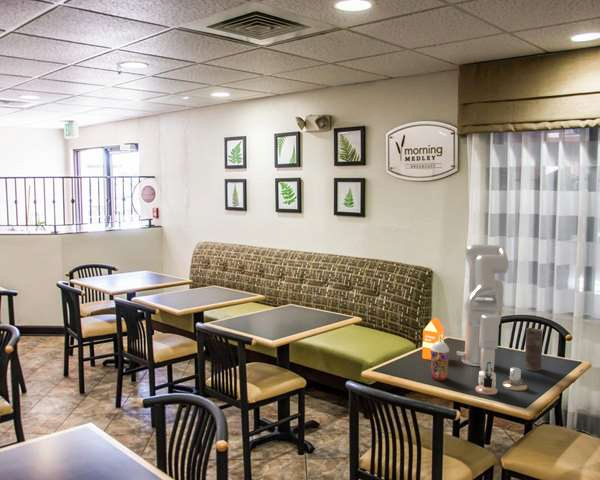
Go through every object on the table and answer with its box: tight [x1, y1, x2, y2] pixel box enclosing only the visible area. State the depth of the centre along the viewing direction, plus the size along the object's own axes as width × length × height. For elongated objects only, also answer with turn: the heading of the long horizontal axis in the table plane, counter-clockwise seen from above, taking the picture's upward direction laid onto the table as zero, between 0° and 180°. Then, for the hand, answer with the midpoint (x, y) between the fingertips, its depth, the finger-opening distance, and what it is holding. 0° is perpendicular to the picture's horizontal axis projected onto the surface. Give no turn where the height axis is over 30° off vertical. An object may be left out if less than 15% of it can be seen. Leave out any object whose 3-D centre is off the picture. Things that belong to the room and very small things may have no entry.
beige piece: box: [502, 366, 528, 392], centre depth 244 cm, size 10×10×8 cm
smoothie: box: [430, 335, 451, 381], centre depth 252 cm, size 8×8×20 cm
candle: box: [524, 327, 543, 372], centre depth 266 cm, size 8×7×20 cm
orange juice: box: [421, 317, 445, 361], centre depth 283 cm, size 8×9×20 cm
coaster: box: [475, 384, 499, 396], centre depth 239 cm, size 9×9×1 cm
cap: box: [478, 369, 497, 388], centre depth 238 cm, size 7×7×6 cm
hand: (486, 383), depth 239 cm, fingers closed on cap, 6 cm apart
